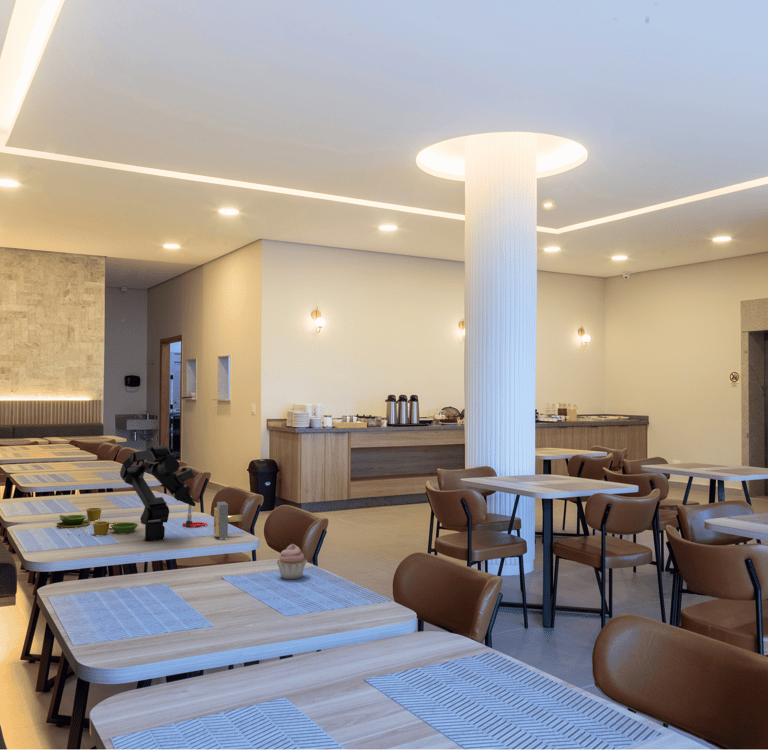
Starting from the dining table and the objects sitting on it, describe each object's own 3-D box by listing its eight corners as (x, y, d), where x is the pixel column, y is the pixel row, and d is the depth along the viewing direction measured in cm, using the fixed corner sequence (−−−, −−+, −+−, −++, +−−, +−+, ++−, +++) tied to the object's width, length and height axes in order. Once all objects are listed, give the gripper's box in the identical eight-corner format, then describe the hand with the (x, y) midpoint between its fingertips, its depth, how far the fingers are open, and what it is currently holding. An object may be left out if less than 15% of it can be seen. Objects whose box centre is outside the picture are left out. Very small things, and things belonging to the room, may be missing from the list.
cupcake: (278, 582, 208) (278, 547, 208) (274, 574, 217) (274, 541, 217) (309, 580, 210) (310, 546, 210) (304, 572, 219) (305, 539, 219)
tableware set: (51, 524, 300) (52, 509, 300) (120, 518, 315) (120, 504, 315) (68, 541, 265) (68, 524, 265) (144, 533, 280) (144, 517, 281)
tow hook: (197, 524, 302) (180, 526, 294) (199, 493, 303) (182, 494, 295) (211, 526, 297) (194, 528, 290) (213, 495, 298) (196, 496, 290)
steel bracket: (219, 539, 268) (220, 504, 268) (216, 535, 275) (217, 501, 276) (227, 539, 269) (228, 504, 269) (224, 535, 276) (224, 501, 277)
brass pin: (215, 536, 268) (216, 510, 269) (213, 533, 274) (214, 507, 274) (242, 534, 272) (242, 508, 272) (239, 532, 277) (240, 506, 278)
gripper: (185, 463, 259) (214, 492, 263) (178, 459, 276) (206, 487, 280) (162, 485, 256) (192, 515, 260) (156, 479, 273) (185, 507, 277)
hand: (194, 505), depth 269 cm, fingers closed
